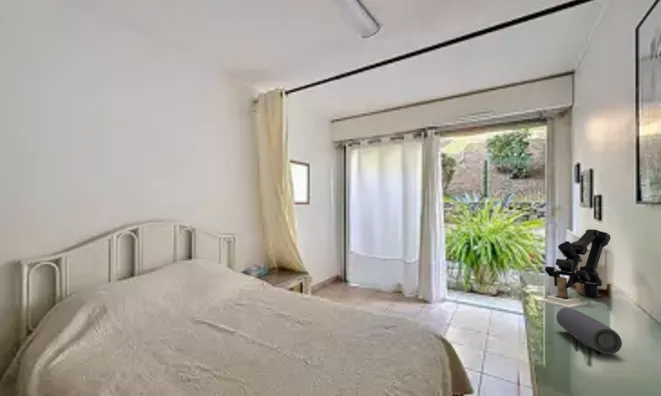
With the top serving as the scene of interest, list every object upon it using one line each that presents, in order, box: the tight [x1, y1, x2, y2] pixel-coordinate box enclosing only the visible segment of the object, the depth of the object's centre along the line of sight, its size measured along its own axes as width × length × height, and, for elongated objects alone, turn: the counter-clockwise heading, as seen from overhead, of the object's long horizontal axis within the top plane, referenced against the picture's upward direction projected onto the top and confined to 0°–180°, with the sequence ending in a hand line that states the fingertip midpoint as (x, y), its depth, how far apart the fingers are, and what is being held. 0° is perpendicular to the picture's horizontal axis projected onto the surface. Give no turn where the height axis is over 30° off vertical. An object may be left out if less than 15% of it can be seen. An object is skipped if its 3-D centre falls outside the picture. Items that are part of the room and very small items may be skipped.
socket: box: [540, 294, 588, 309], centre depth 157 cm, size 14×14×3 cm
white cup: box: [547, 275, 565, 295], centre depth 173 cm, size 8×8×10 cm
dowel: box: [557, 276, 569, 300], centre depth 157 cm, size 4×4×13 cm
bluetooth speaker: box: [556, 307, 623, 355], centre depth 110 cm, size 23×9×10 cm, turn 168°
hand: (560, 286), depth 157 cm, fingers open, 5 cm apart
